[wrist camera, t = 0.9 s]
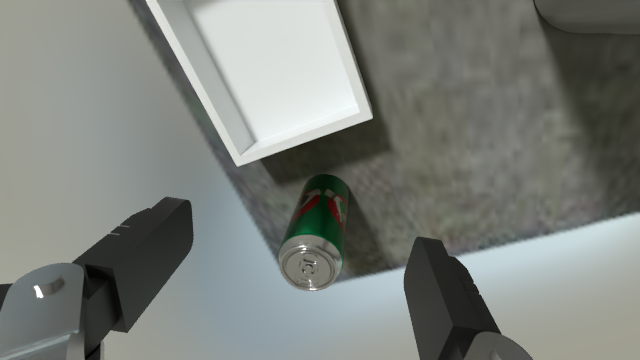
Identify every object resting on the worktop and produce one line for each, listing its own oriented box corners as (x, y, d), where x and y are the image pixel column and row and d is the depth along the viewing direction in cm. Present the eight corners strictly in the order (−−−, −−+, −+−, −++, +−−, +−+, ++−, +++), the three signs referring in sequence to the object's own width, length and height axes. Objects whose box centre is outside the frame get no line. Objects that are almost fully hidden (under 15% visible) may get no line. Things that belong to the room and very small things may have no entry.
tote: (293, -131, 21) (276, -169, 17) (371, 106, 28) (372, 118, 24) (155, -41, 25) (114, -56, 21) (253, 149, 31) (237, 166, 27)
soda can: (301, 207, 34) (272, 287, 23) (306, 167, 31) (277, 235, 21) (344, 216, 33) (335, 301, 23) (353, 176, 31) (348, 250, 20)
